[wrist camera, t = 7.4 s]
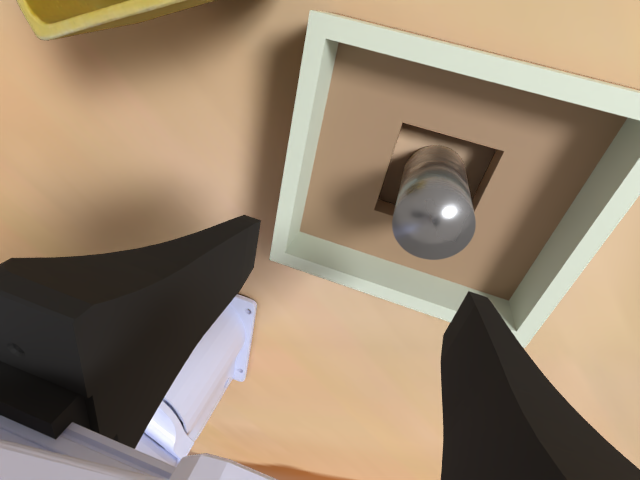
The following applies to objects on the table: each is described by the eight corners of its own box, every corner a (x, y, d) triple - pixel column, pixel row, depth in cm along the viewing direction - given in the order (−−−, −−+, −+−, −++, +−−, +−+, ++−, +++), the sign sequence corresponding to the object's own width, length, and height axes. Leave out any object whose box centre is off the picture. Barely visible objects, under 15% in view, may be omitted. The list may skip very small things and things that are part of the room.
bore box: (511, 299, 22) (524, 347, 19) (293, 227, 24) (269, 259, 21) (647, 91, 16) (703, 109, 12) (334, 13, 17) (309, 10, 14)
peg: (453, 208, 21) (458, 268, 16) (396, 194, 21) (383, 247, 16) (474, 153, 19) (488, 200, 14) (412, 139, 19) (403, 179, 14)
